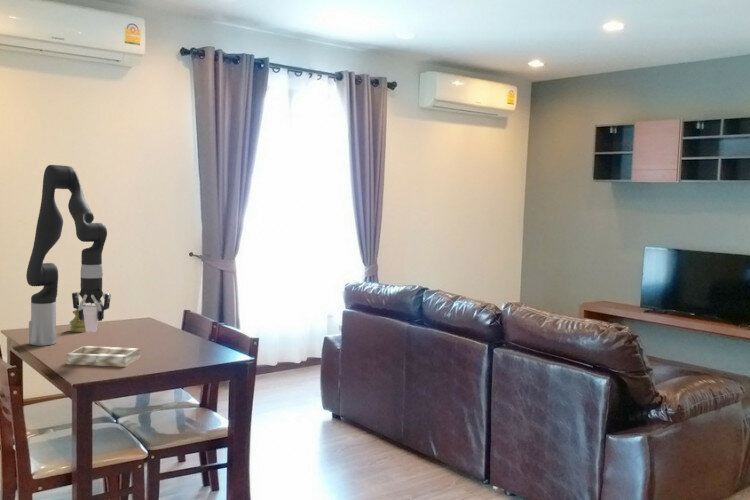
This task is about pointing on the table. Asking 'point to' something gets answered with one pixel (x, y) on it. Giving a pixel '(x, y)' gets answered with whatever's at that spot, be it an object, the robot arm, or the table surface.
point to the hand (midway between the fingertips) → (91, 320)
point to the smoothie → (90, 317)
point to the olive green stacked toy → (77, 323)
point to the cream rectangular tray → (103, 356)
